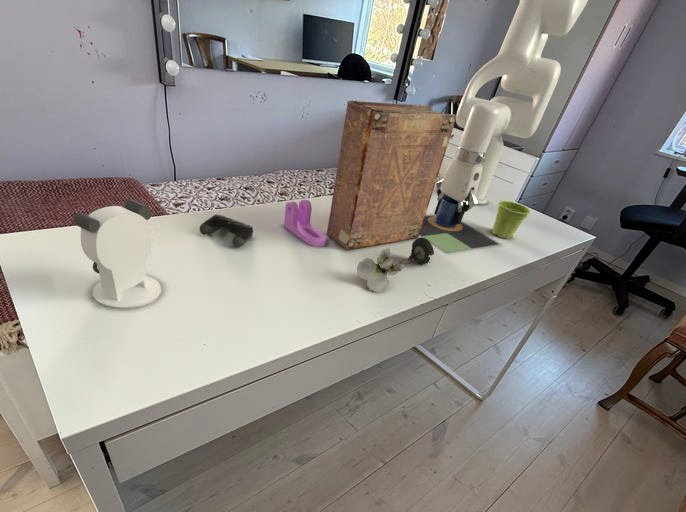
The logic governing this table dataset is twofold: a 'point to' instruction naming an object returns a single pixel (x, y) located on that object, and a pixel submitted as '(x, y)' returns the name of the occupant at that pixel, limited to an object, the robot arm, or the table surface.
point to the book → (386, 172)
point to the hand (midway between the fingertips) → (446, 218)
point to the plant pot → (509, 218)
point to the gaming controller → (228, 228)
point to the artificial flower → (391, 265)
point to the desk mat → (453, 236)
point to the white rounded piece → (120, 254)
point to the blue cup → (446, 212)
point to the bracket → (303, 223)
